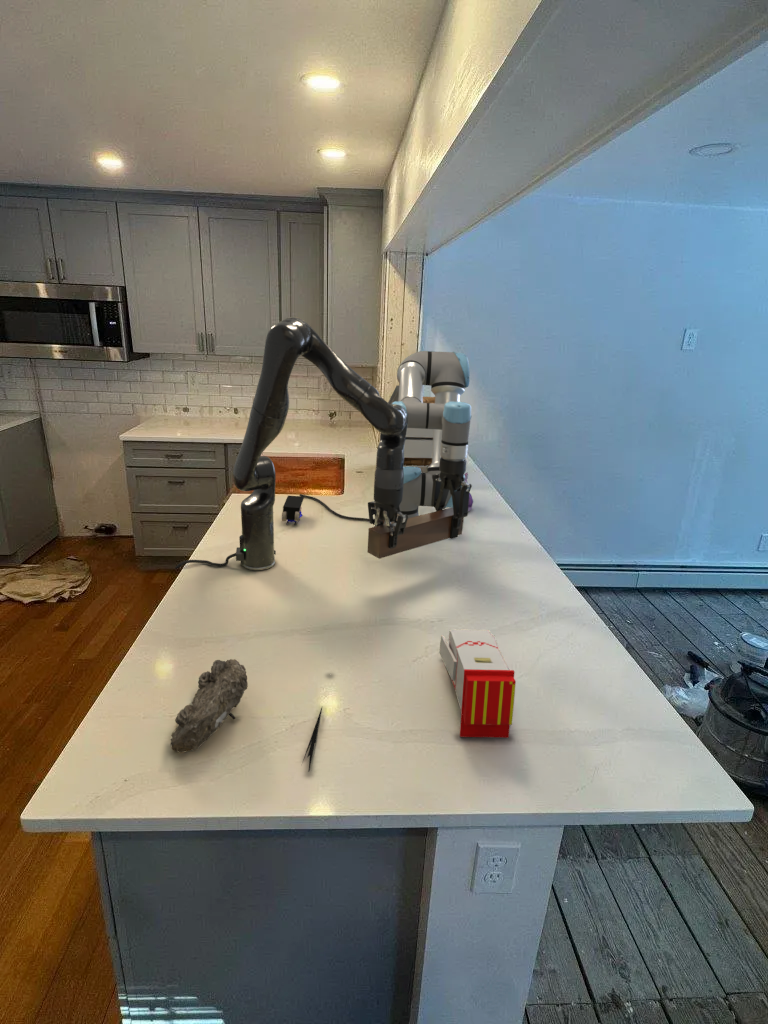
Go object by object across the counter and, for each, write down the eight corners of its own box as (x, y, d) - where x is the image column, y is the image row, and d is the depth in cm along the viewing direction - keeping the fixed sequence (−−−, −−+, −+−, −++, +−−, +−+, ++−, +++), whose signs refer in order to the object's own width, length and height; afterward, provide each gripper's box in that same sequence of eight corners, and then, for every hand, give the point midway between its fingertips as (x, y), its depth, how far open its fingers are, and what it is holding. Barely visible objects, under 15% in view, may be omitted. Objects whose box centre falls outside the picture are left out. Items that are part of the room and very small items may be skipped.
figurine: (459, 514, 221) (463, 477, 216) (445, 506, 229) (448, 470, 224) (479, 511, 225) (483, 475, 220) (464, 503, 234) (467, 468, 228)
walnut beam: (367, 552, 152) (368, 528, 149) (449, 529, 172) (451, 507, 169) (379, 558, 148) (380, 534, 146) (461, 534, 168) (464, 512, 166)
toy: (489, 613, 130) (525, 677, 101) (485, 667, 133) (518, 744, 104) (437, 612, 130) (457, 676, 101) (434, 666, 133) (453, 743, 103)
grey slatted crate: (381, 463, 289) (385, 382, 275) (444, 464, 292) (450, 384, 279) (389, 482, 257) (393, 392, 243) (459, 483, 261) (467, 394, 247)
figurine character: (300, 531, 202) (304, 512, 215) (299, 512, 198) (304, 494, 212) (281, 530, 201) (287, 511, 215) (280, 511, 198) (286, 493, 211)
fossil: (195, 660, 117) (247, 628, 112) (227, 691, 120) (279, 661, 115) (146, 746, 98) (206, 711, 93) (185, 779, 101) (245, 748, 96)
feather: (331, 679, 122) (336, 673, 122) (307, 777, 96) (313, 769, 95) (324, 675, 122) (329, 669, 121) (298, 772, 95) (304, 764, 95)
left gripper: (360, 478, 149) (357, 538, 154) (396, 493, 139) (392, 556, 144) (382, 474, 153) (379, 532, 159) (418, 488, 143) (413, 550, 149)
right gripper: (421, 452, 164) (416, 527, 172) (468, 467, 151) (460, 547, 159) (440, 449, 168) (434, 522, 176) (486, 463, 155) (478, 541, 163)
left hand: (385, 543), depth 152 cm, fingers closed on walnut beam, 5 cm apart
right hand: (446, 534), depth 168 cm, fingers closed on walnut beam, 5 cm apart
